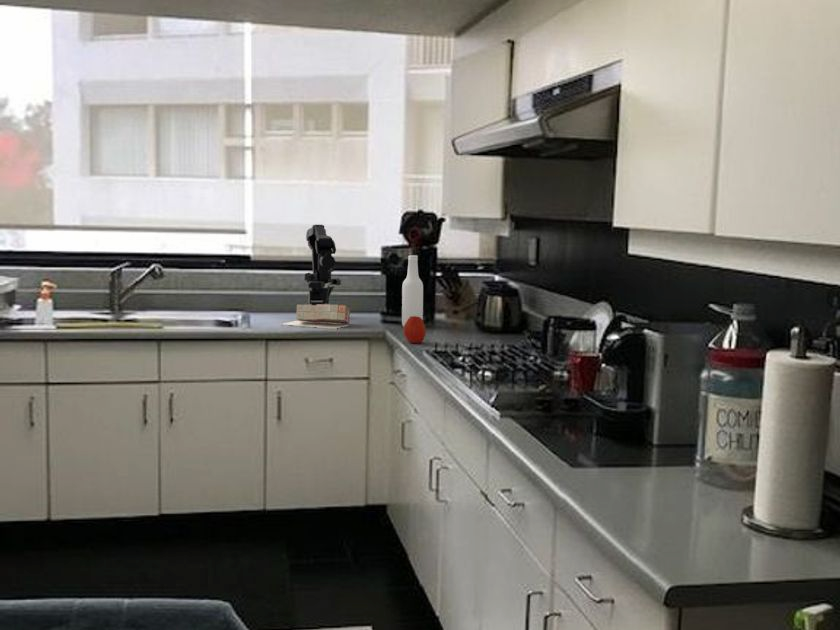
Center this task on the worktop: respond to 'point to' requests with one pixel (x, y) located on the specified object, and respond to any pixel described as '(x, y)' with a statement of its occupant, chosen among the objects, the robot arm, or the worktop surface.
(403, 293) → the alcohol
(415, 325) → the red oval lump
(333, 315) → the stack of blocks
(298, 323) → the mat
